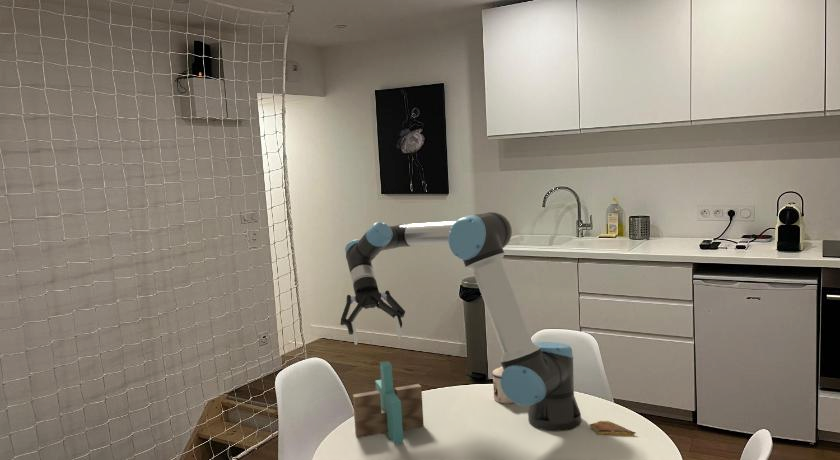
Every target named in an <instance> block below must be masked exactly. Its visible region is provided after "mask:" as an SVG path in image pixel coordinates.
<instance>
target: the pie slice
mask: <svg viewBox="0 0 840 460" xmlns="http://www.w3.org/2000/svg"><path fill="white" fill-rule="evenodd" d="M589 428H590V429H592V430H594V431H595V432H596V435H599V436H601V435H608V436H609V435H610V436H625V437H626V436H627V437H629V436H632V437H633V436H635V434H637V432H635V431H632V430H630V429H627V428H626V427H624V426H621V425H619V424H617V423H614V422H612V421H609V420H600V421H596V422H594V423H590V424H589Z"/></svg>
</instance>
